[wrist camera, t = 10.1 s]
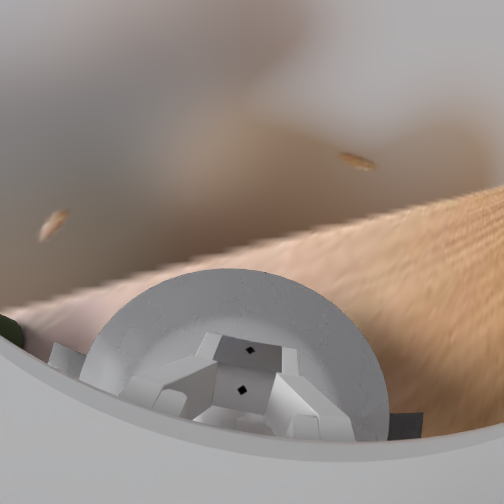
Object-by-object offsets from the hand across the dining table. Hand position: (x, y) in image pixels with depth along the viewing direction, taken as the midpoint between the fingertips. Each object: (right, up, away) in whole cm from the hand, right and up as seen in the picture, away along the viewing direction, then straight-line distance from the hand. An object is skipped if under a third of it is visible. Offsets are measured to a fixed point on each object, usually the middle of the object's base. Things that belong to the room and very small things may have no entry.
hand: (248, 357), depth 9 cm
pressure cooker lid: (-1, -5, +4) cm, 6 cm away
